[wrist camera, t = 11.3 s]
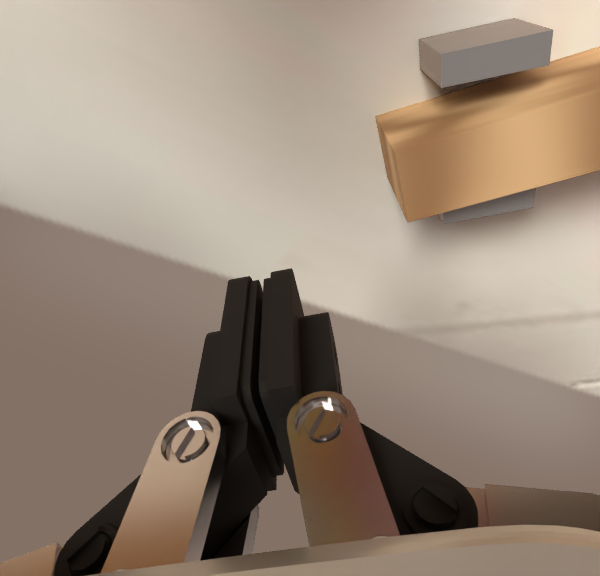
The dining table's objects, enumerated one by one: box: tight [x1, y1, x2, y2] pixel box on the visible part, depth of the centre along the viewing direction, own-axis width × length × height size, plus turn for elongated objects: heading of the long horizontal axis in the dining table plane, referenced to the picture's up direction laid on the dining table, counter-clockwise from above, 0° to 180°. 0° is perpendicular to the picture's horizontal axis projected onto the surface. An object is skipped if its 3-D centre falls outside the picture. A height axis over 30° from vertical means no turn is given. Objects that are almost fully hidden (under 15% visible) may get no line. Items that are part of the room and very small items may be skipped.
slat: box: [375, 47, 600, 222], centre depth 20 cm, size 16×3×5 cm, turn 107°
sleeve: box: [419, 18, 553, 224], centre depth 20 cm, size 4×7×4 cm, turn 11°
